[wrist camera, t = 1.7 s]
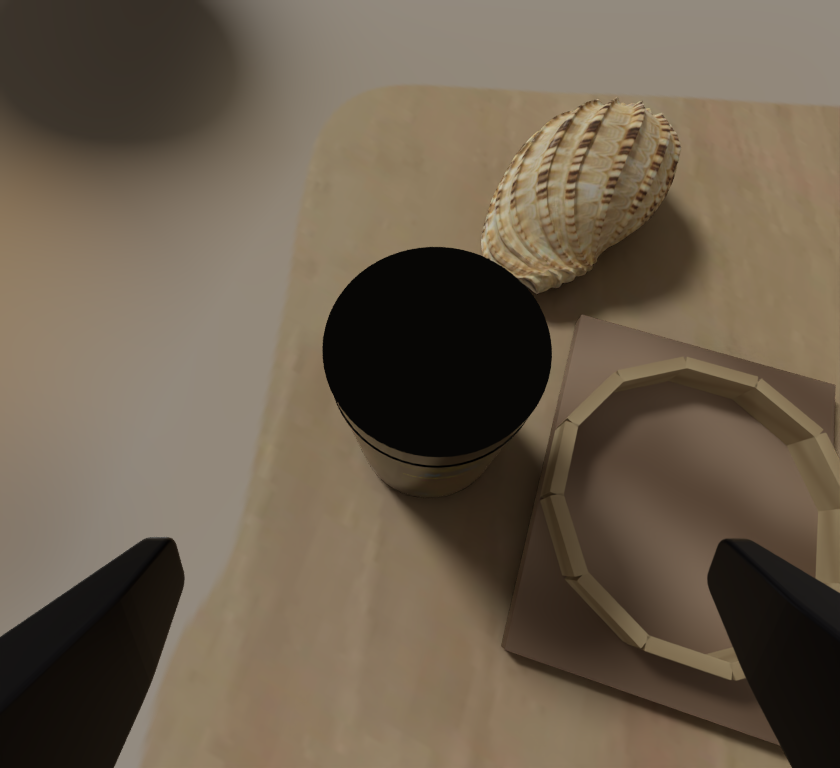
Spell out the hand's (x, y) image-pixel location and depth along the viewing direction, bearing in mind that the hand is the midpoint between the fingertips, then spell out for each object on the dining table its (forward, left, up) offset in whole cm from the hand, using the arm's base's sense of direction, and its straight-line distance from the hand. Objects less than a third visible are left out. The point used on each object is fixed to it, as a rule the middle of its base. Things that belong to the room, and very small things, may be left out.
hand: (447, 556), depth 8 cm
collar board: (+5, -9, -12) cm, 15 cm away
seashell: (+17, -2, -12) cm, 21 cm away
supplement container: (+5, +2, -12) cm, 13 cm away
